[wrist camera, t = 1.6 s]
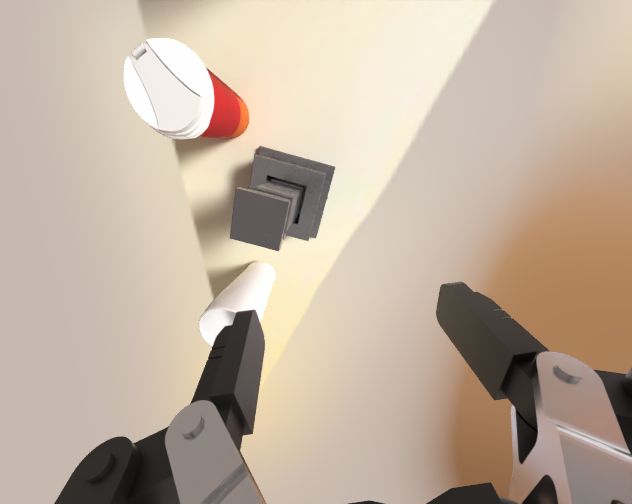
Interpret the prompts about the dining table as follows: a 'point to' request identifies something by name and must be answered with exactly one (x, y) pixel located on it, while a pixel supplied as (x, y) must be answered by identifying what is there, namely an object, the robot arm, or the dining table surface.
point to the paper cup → (181, 93)
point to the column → (266, 212)
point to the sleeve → (299, 172)
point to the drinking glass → (238, 299)
